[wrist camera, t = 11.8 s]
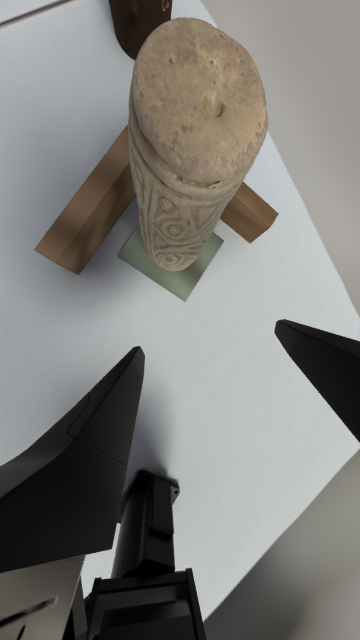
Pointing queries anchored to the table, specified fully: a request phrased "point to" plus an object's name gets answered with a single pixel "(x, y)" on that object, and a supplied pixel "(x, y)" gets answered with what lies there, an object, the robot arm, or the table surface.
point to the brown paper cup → (138, 21)
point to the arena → (108, 205)
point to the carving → (191, 134)
